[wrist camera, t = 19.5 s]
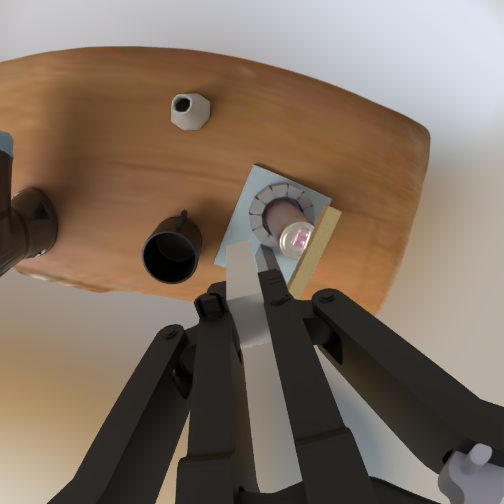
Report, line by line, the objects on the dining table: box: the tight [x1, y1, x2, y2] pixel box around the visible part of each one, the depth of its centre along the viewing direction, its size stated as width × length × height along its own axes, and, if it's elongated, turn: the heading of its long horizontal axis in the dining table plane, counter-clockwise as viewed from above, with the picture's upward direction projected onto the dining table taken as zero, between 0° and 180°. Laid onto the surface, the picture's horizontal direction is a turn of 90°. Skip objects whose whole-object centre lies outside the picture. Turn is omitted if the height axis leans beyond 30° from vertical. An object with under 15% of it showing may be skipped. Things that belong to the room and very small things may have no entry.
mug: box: [142, 210, 202, 284], centre depth 48 cm, size 9×12×9 cm
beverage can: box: [265, 199, 315, 261], centre depth 45 cm, size 6×6×15 cm
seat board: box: [214, 164, 332, 286], centre depth 44 cm, size 16×20×20 cm
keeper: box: [287, 204, 342, 300], centre depth 33 cm, size 4×16×1 cm, turn 158°
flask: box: [171, 93, 210, 130], centre depth 40 cm, size 7×7×10 cm
